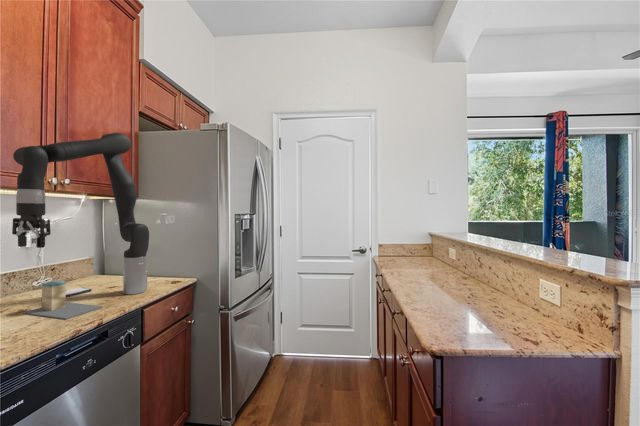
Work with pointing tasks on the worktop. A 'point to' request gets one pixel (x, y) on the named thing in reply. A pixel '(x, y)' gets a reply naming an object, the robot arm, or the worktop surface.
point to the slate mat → (64, 311)
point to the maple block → (53, 295)
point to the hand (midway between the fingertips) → (31, 247)
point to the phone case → (77, 291)
